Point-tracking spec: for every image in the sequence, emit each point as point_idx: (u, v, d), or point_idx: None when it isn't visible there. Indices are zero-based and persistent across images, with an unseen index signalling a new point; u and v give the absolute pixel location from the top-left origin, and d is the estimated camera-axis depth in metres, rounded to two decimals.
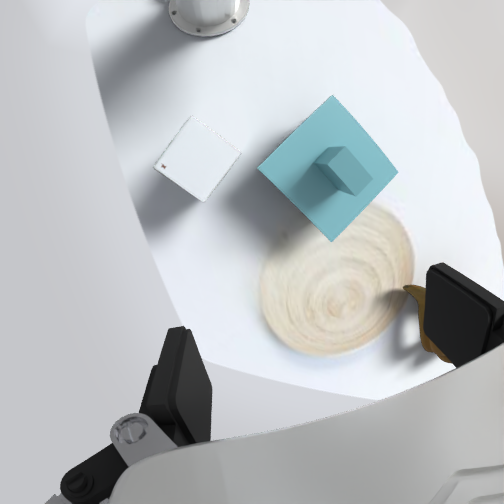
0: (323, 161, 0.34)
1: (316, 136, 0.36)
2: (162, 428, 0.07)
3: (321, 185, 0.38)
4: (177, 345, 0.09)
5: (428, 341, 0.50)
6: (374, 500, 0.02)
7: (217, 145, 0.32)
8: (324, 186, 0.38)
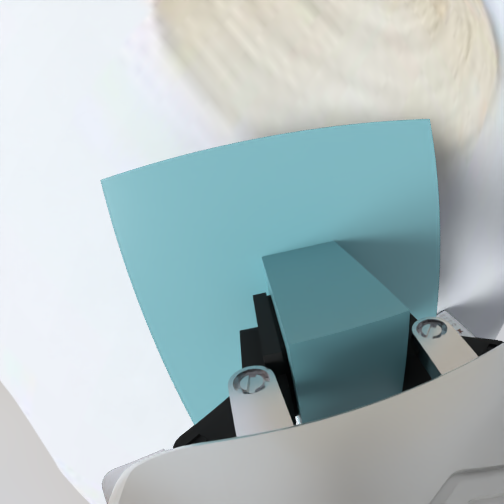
0: None
1: None
2: None
3: None
4: (268, 307, 0.10)
5: None
6: (373, 500, 0.02)
7: None
8: None
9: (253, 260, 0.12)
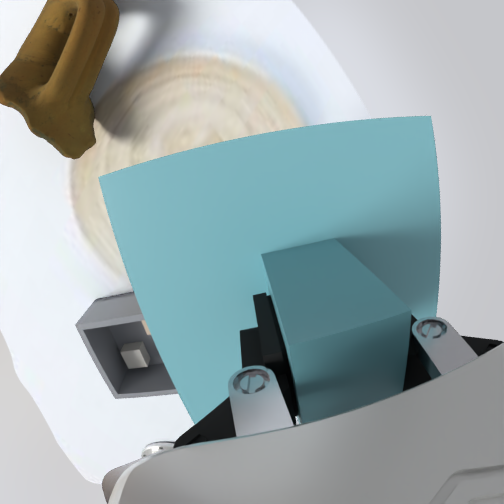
0: None
1: None
2: None
3: None
4: (268, 307, 0.10)
5: (100, 34, 0.22)
6: (374, 500, 0.02)
7: None
8: None
9: (253, 258, 0.12)
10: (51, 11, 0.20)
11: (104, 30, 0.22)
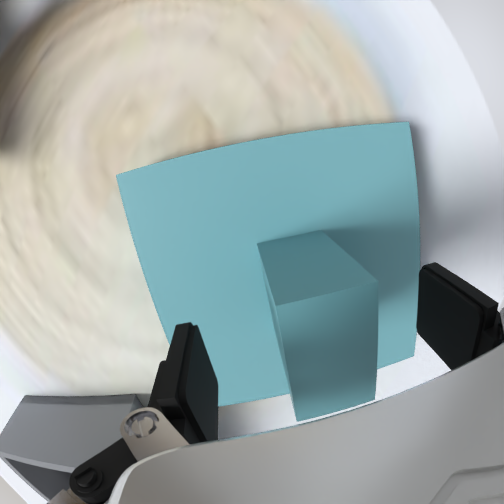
0: None
1: None
2: (171, 422, 0.07)
3: None
4: (185, 340, 0.09)
5: None
6: (374, 500, 0.02)
7: None
8: None
9: (249, 246, 0.14)
10: None
11: None
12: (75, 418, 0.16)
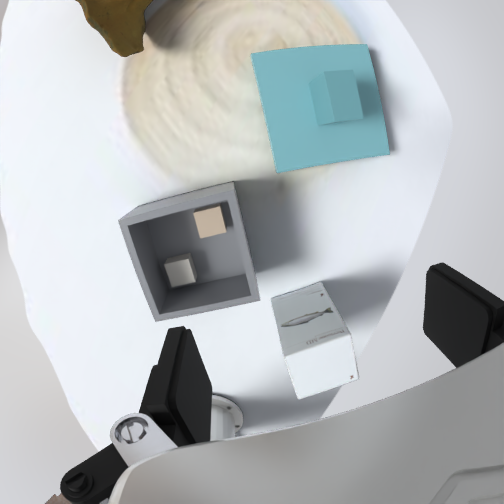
0: (351, 120, 0.28)
1: (323, 143, 0.32)
2: (162, 428, 0.07)
3: None
4: (177, 345, 0.09)
5: None
6: (374, 500, 0.02)
7: (299, 372, 0.30)
8: None
9: (305, 84, 0.30)
10: None
11: None
12: (193, 193, 0.33)
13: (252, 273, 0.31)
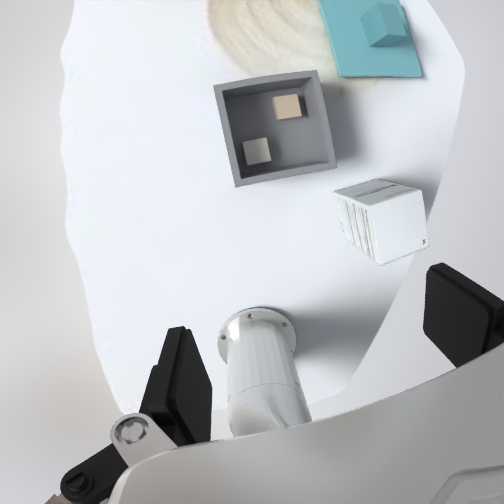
0: (396, 40, 0.30)
1: (373, 59, 0.34)
2: (162, 428, 0.07)
3: None
4: (177, 345, 0.09)
5: None
6: (374, 500, 0.02)
7: (382, 226, 0.31)
8: None
9: (358, 18, 0.32)
10: None
11: None
12: None
13: (331, 140, 0.33)
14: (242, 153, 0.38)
